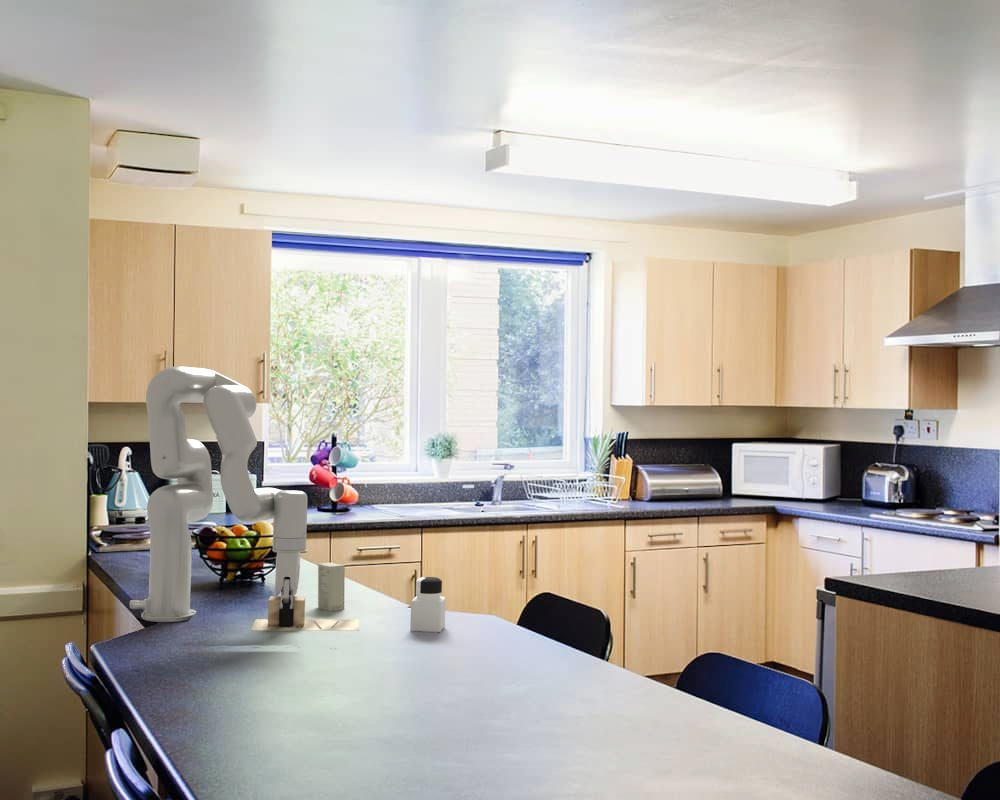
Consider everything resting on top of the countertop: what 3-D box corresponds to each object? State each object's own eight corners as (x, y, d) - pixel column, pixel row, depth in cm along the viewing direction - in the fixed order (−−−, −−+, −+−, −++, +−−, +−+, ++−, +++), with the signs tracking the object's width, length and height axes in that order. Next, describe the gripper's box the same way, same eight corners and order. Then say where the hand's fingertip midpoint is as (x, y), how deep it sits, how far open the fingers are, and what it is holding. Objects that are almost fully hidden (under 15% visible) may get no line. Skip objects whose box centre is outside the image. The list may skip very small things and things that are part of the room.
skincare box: (344, 614, 261) (346, 565, 262) (329, 615, 259) (330, 566, 259) (331, 609, 266) (333, 561, 266) (316, 611, 263) (317, 563, 264)
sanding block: (267, 626, 238) (268, 600, 238) (269, 622, 243) (270, 596, 243) (303, 626, 240) (304, 600, 240) (304, 622, 244) (305, 596, 245)
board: (250, 635, 234) (250, 630, 234) (255, 624, 246) (255, 619, 246) (359, 635, 238) (359, 630, 238) (358, 624, 250) (359, 619, 250)
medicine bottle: (445, 626, 250) (446, 576, 250) (440, 632, 243) (441, 580, 243) (415, 625, 251) (416, 574, 251) (409, 631, 244) (411, 579, 244)
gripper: (275, 539, 249) (272, 616, 249) (269, 549, 233) (267, 631, 233) (307, 539, 251) (305, 616, 250) (304, 549, 234) (301, 631, 234)
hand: (286, 622), depth 241 cm, fingers closed on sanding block, 5 cm apart
